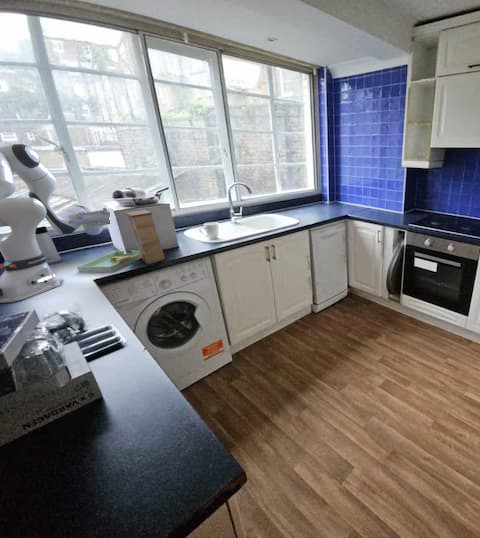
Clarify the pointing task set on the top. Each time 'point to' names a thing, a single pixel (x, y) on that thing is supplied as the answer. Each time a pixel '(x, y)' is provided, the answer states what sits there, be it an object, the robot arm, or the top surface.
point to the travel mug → (47, 245)
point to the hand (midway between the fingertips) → (94, 210)
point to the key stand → (146, 236)
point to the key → (120, 258)
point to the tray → (109, 262)
